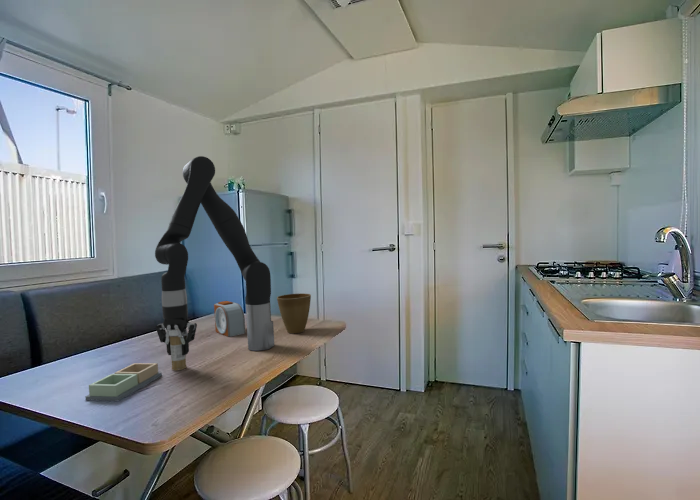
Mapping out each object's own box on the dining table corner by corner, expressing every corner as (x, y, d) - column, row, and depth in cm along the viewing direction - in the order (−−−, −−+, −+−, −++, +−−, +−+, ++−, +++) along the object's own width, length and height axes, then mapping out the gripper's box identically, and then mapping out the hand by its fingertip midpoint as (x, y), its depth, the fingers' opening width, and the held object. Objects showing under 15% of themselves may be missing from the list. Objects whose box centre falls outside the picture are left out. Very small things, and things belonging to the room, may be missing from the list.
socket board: (161, 375, 118) (160, 363, 118) (118, 401, 100) (117, 386, 100) (133, 374, 119) (132, 362, 119) (85, 400, 102) (84, 385, 101)
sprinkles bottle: (186, 365, 126) (183, 326, 126) (186, 369, 122) (184, 329, 122) (171, 367, 125) (168, 328, 124) (171, 372, 120) (168, 331, 120)
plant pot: (318, 328, 168) (316, 293, 168) (301, 337, 155) (299, 299, 154) (290, 326, 175) (289, 292, 174) (271, 334, 161) (269, 298, 160)
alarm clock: (213, 331, 171) (211, 302, 171) (231, 327, 177) (229, 299, 176) (227, 337, 160) (225, 306, 160) (245, 333, 166) (244, 303, 165)
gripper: (201, 301, 125) (204, 351, 126) (162, 301, 127) (165, 350, 128) (188, 305, 118) (191, 358, 118) (147, 306, 120) (151, 358, 121)
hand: (178, 354), depth 123 cm, fingers closed on sprinkles bottle, 4 cm apart
